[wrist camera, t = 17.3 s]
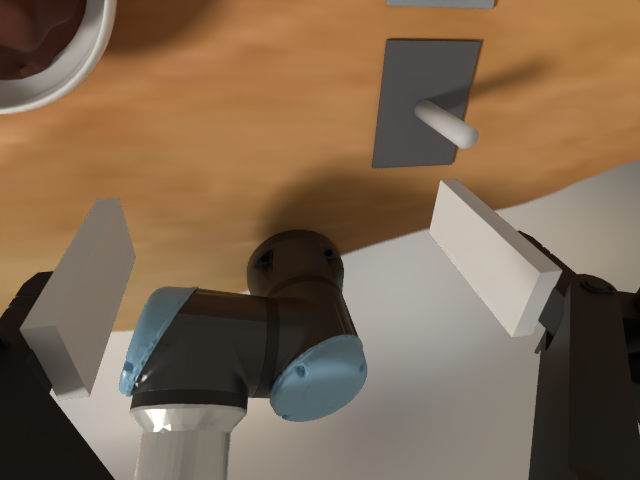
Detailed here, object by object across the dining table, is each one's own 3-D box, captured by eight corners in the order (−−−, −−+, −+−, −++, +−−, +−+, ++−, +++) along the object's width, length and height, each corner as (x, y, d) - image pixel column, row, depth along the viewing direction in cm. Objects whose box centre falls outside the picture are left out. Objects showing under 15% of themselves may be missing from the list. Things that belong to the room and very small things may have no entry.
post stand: (450, 163, 57) (496, 201, 47) (371, 167, 55) (403, 207, 45) (478, 41, 48) (542, 56, 38) (386, 39, 46) (429, 55, 36)
